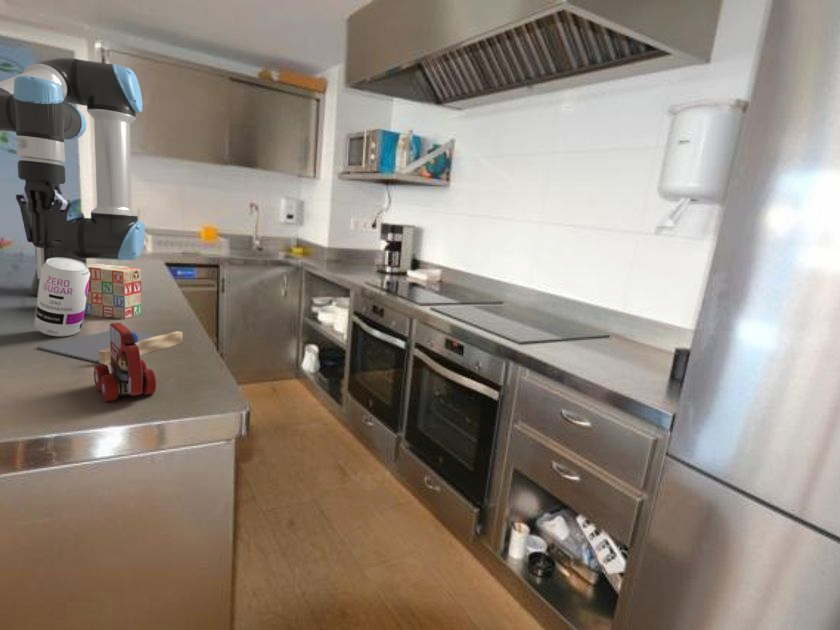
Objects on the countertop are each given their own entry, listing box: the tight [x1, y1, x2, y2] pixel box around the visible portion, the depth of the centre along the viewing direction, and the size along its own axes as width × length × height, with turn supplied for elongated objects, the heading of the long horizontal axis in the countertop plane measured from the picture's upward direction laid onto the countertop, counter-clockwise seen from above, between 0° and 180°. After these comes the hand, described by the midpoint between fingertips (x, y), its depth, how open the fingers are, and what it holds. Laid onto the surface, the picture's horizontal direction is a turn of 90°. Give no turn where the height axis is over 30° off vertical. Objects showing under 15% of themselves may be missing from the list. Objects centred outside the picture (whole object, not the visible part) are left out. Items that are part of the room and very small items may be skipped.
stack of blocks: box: [84, 263, 143, 320], centre depth 123 cm, size 21×6×12 cm, turn 83°
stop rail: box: [98, 330, 184, 365], centre depth 97 cm, size 18×2×2 cm, turn 161°
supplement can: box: [33, 258, 90, 337], centre depth 102 cm, size 8×8×15 cm
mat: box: [36, 329, 157, 363], centre depth 100 cm, size 18×16×1 cm
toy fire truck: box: [93, 322, 157, 403], centre depth 77 cm, size 7×12×10 cm, turn 43°
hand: (46, 278), depth 101 cm, fingers closed
